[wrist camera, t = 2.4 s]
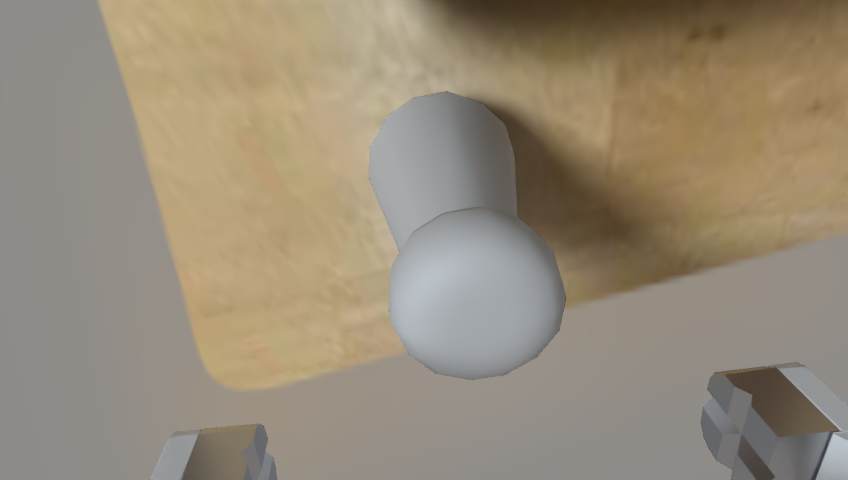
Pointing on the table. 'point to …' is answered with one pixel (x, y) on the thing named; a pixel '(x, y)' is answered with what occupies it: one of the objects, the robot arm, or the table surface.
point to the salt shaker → (461, 241)
